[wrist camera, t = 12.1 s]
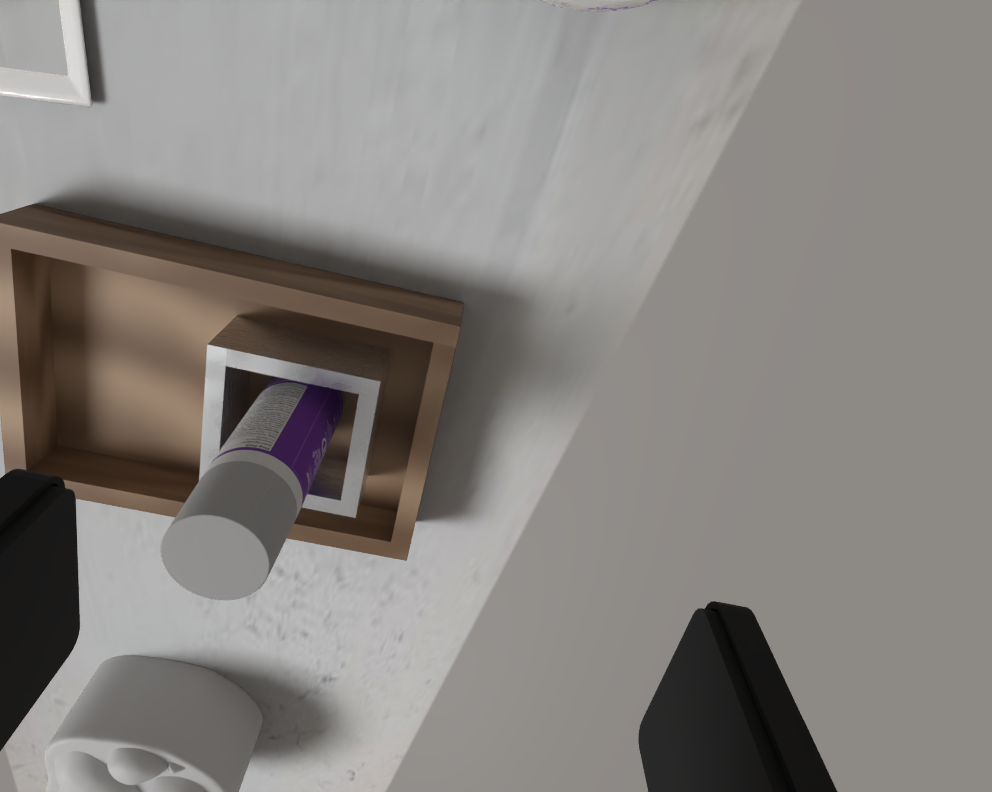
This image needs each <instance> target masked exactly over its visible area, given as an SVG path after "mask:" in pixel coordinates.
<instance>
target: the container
mask: <svg viewBox="0 0 992 792" xmlns="http://www.w3.org/2000/svg"><path fill="white" fill-rule="evenodd" d="M344 404H345V399H344V393H343V391H341V390H337V389H332V388H327V387H322V386H318V385H313V384H308V383H303V382H299V381H294V380H289V379H285V378H280V377H275V376H273V377H272V378H271V379H270V381H269V382H268V384H267V385H266V386H265V388H264V389H263V391H262V392H261V393H260V395H259V396H258V398H257V399H256V400H255V402H254V403H253V405H252V406H251V407H250V409H249V410H248V412H247V413H246V414H245V416H244V417H243V419H242V420H241V421H240V423H239V424H238V426H237V427H236V429H235V430H234V431H233V433H232V434H231V436H230V437H229V438H228V440H227V441H226V443H225V444H224V445H223V447H222V448H221V450H220V451H219V452H218V454H217V455H216V457H215V458H214V459H213V461H212V462H211V464H210V465H209V466H208V468H207V470H206V471H205V473H204V474H203V476H202V478H201V479H200V481H199V482H198V484H197V485H196V487H195V488H194V490H193V491H192V493H191V495H190V496H189V498H188V499H187V501H186V502H185V504H184V505H183V507H182V508H181V510H180V511H179V513H178V515H177V516H176V518H175V519H174V521H173V522H172V524H171V525H170V527H169V528H168V530H167V531H166V533H165V535H164V537H163V539H162V543H161V557H162V561H163V564H164V566H165V568H166V570H167V571H168V573H169V574H170V575H171V577H172V578H173V579H174V580H175V581H176V582H177V583H179V584H180V585H181V586H182V587H184V588H185V589H187V590H189V591H190V592H192V593H195V594H197V595H199V596H202V597H205V598H209V599H215V600H234V599H239V598H243V597H246V596H248V595H250V594H252V593H254V592H255V591H257V590H258V589H259V588H260V587H261V586H262V585H263V584H264V582H265V581H266V579H267V577H268V575H269V573H270V571H271V569H272V567H273V565H274V563H275V561H276V559H277V557H278V555H279V553H280V550H281V548H282V546H283V544H284V542H285V540H286V538H287V536H288V534H289V532H290V530H291V528H292V526H293V524H294V522H295V520H296V518H297V516H298V514H299V512H300V510H301V507H302V505H303V503H304V500H305V498H306V496H307V494H308V491H309V489H310V487H311V484H312V482H313V480H314V477H315V475H316V473H317V470H318V468H319V466H320V464H321V461H322V459H323V457H324V454H325V452H326V450H327V447H328V445H329V443H330V441H331V438H332V436H333V434H334V431H335V429H336V427H337V424H338V422H339V420H340V417H341V415H342V412H343V409H344Z"/></svg>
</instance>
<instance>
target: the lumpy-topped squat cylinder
mask: <svg viewBox="0 0 992 792" xmlns="http://www.w3.org/2000/svg"><path fill="white" fill-rule="evenodd" d="M262 724H263V717H262V713H261V711H260V709H259V707H258V706H257V704H256V703H255V702H254V701H253V699H252V698H251V697H250V696H249V695H248V694H247V693H246V692H245V691H244V690H242V689H241V688H240V687H238V686H237V685H235V684H234V683H232V682H231V681H229V680H228V679H226V678H224V677H223V676H221V675H219V674H218V673H216V672H214V671H212V670H209V669H206V668H203V667H200V666H196V665H192V664H187V663H183V662H178V661H173V660H168V659H161V658H153V657H145V656H136V655H123V656H117V657H113V658H110V659H108V660H106V661H104V662H103V663H102V664H101V665H100V666H99V667H98V669H97V670H96V672H95V673H94V675H93V676H92V678H91V679H90V681H89V683H88V684H87V686H86V687H85V689H84V690H83V692H82V693H81V695H80V696H79V698H78V699H77V701H76V702H75V704H74V705H73V707H72V708H71V710H70V712H69V713H68V715H67V716H66V718H65V719H64V721H63V722H62V724H61V725H60V727H59V729H58V730H57V732H56V734H55V735H54V737H53V738H52V740H51V741H50V742H49V744H48V746H47V748H46V750H45V754H44V758H45V764H46V768H47V771H48V777H49V779H48V784H47V788H46V791H45V792H239V789H240V787H241V784H242V781H243V778H244V775H245V772H246V770H247V767H248V764H249V762H250V759H251V756H252V753H253V750H254V747H255V745H256V742H257V739H258V736H259V733H260V730H261V727H262Z"/></svg>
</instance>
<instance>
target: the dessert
mask: <svg viewBox="0 0 992 792" xmlns="http://www.w3.org/2000/svg"><path fill="white" fill-rule="evenodd" d="M59 7H60V14H61V22H62V30H63V37H64V45H65V52H66V60H67V67H68V74H67V75H65V76H63V75H56V74H48V73H41V72H33V71H26V70H18V69H11V68H3V67H0V96H7V97H15V98H22V99H30V100H37V101H45V102H53V103H60V104H68V105H75V106H83V107H91V106H92V100H91V91H90V83H89V75H88V67H87V58H86V50H85V42H84V34H83V25H82V17H81V9H80V1H79V0H59Z"/></svg>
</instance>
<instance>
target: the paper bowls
mask: <svg viewBox="0 0 992 792" xmlns="http://www.w3.org/2000/svg"><path fill="white" fill-rule="evenodd" d="M542 1H544V2H547V3H549V4H552V5H554V6H559V7H562V8H567V9H572V10H579V11H587V12H604V11H618V10H624V9H629V8H633V7H639V6H642V5H646V4H649V3H652V2H654V1H657V0H542Z"/></svg>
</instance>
